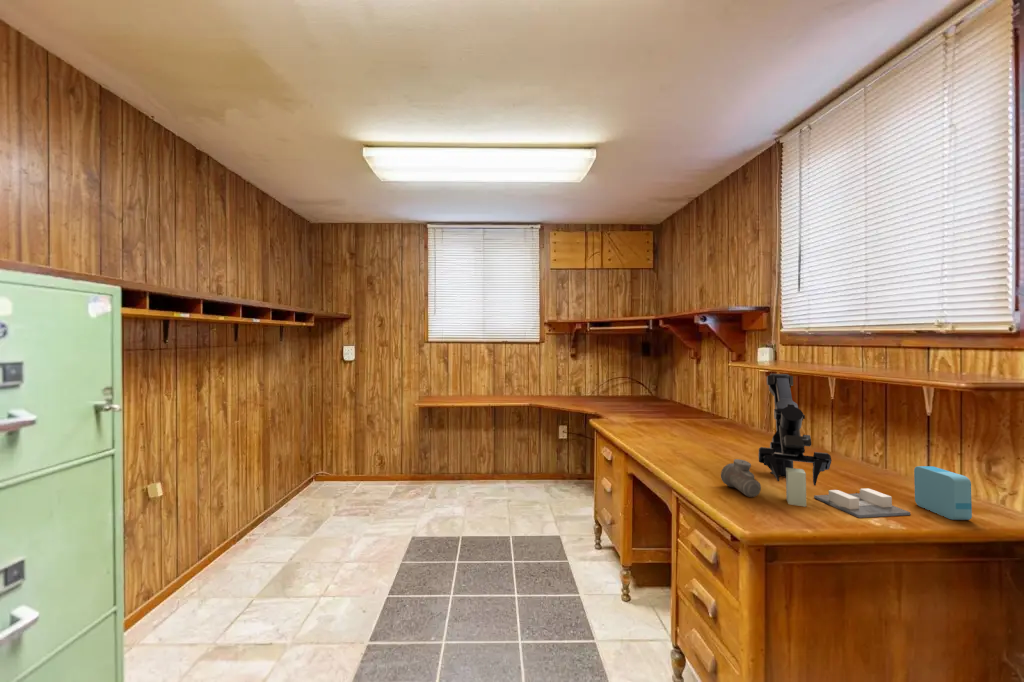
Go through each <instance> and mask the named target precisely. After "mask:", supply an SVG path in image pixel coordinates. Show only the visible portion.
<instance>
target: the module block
mask: <svg viewBox="0 0 1024 682" xmlns="http://www.w3.org/2000/svg"><path fill="white" fill-rule="evenodd" d="M785 485H786V486H785V495H786V498H785V499H786V501H787V504H788V505H792V506H799V507H804V508H806V507H807V473H806V472H805V470H804V469H803V468H795V467H793V468H786V478H785Z"/></svg>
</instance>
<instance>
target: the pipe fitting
mask: <svg viewBox="0 0 1024 682" xmlns="http://www.w3.org/2000/svg"><path fill="white" fill-rule="evenodd" d="M751 467H752V463H750V461H748V460H744V459H737V458H736V459H735V458H734V459H733V463H727V464H726V465H725V466H723V468H722V469H721V472H720V479H721V482H722V483H723V484H725V485H727V486H728V487H729V488H735V489H736V490H738V491H739V492H741V493H742V494H743V495H745V496H747V497H748V498H755V497H757V496H759V494H760V492H761V490H762V485H761V484H760V482H759V481H758V480H757V479H756V478H755V474H754V473H752V472H751V471H750V468H751Z"/></svg>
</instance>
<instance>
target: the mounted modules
mask: <svg viewBox="0 0 1024 682" xmlns="http://www.w3.org/2000/svg"><path fill="white" fill-rule="evenodd" d="M859 493H860V499H863V500H865V501H868V502H870V503H873V504H876V505H878V506H880V507H892V505H893V503H892V502H893V501H892V500H893V498H892V496H891V495H889V494H885V493H884V492H883V493H882V492H880V491H877V490H874V489H872V488H859ZM849 494H850V493H847V492H844V491H842V490H838V489H830V490H828V495H829V500H830V501H832V502H835V503H837V504H839V505H842V506H844V507H846V508H848V509H859V498H857V497H854V496H852V495H849Z"/></svg>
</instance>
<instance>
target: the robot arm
mask: <svg viewBox="0 0 1024 682" xmlns="http://www.w3.org/2000/svg"><path fill="white" fill-rule="evenodd" d="M766 386H768V391H769V392H770V393H771V395H772V397H773V400H774V401H773V404H774V409H773V418H774V420H775V433H774V434H773V436H772V439H771V441H770V442H769V443H770V445H769V447H764V446H760V447H759V448H758V463H760V464H763V465H764V466H765V467H768V469H769V470H770V474H771V475H773V476H774V477H775V479H776V481H777V482H780V477H782V478H785V479H786V468H794V462H801V463H811V464H812V483H813V486H817V481H818V477H819V475H820V473H822V472H825V470H826V471H827V470H828V471H829V470H830V468H831V464H832V457H831V455H830V453H828V452H821V451H819V452H818V451H814V452H813V455H804V454H805V453H806V451H805V450H806V449H805V447H812V439H811V437H812V436H811V435H810V434H803V435H802V436H801V428H802V425H803V424H802V423H803V421H804V420H805V419H806V415H805V414H804V412H803V411H802V410H801V409H800V408H799V405H798V403H796V402H795V401H794V400H793V396H792V391H791V388H792V386H794V376H793V375H789V374H788V373H769V375H767V376H766Z"/></svg>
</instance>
